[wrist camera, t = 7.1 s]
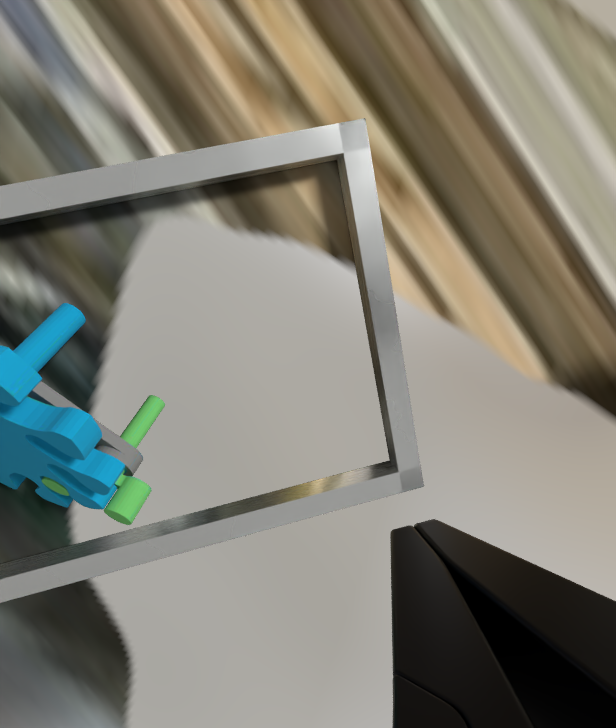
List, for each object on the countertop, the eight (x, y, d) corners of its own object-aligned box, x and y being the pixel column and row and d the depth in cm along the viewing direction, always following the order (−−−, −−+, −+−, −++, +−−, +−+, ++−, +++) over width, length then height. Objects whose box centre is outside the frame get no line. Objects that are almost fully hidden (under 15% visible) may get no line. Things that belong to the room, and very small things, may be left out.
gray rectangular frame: (356, 127, 18) (365, 118, 17) (413, 474, 21) (423, 486, 20) (-148, 222, 16) (-178, 219, 15) (8, 584, 20) (-6, 604, 18)
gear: (-223, 379, 15) (-280, 237, 8) (-72, 273, 19) (-28, 114, 12) (67, 544, 20) (184, 538, 13) (144, 431, 23) (266, 380, 16)
